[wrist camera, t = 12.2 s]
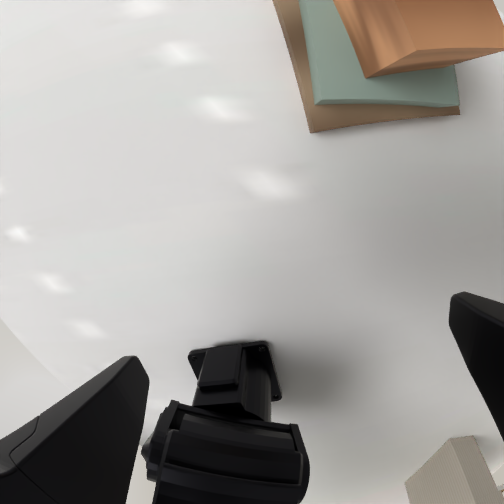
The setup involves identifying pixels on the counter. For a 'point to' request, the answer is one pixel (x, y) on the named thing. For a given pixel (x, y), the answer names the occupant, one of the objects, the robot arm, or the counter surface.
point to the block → (420, 33)
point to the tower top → (351, 75)
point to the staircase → (455, 477)
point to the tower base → (337, 113)
